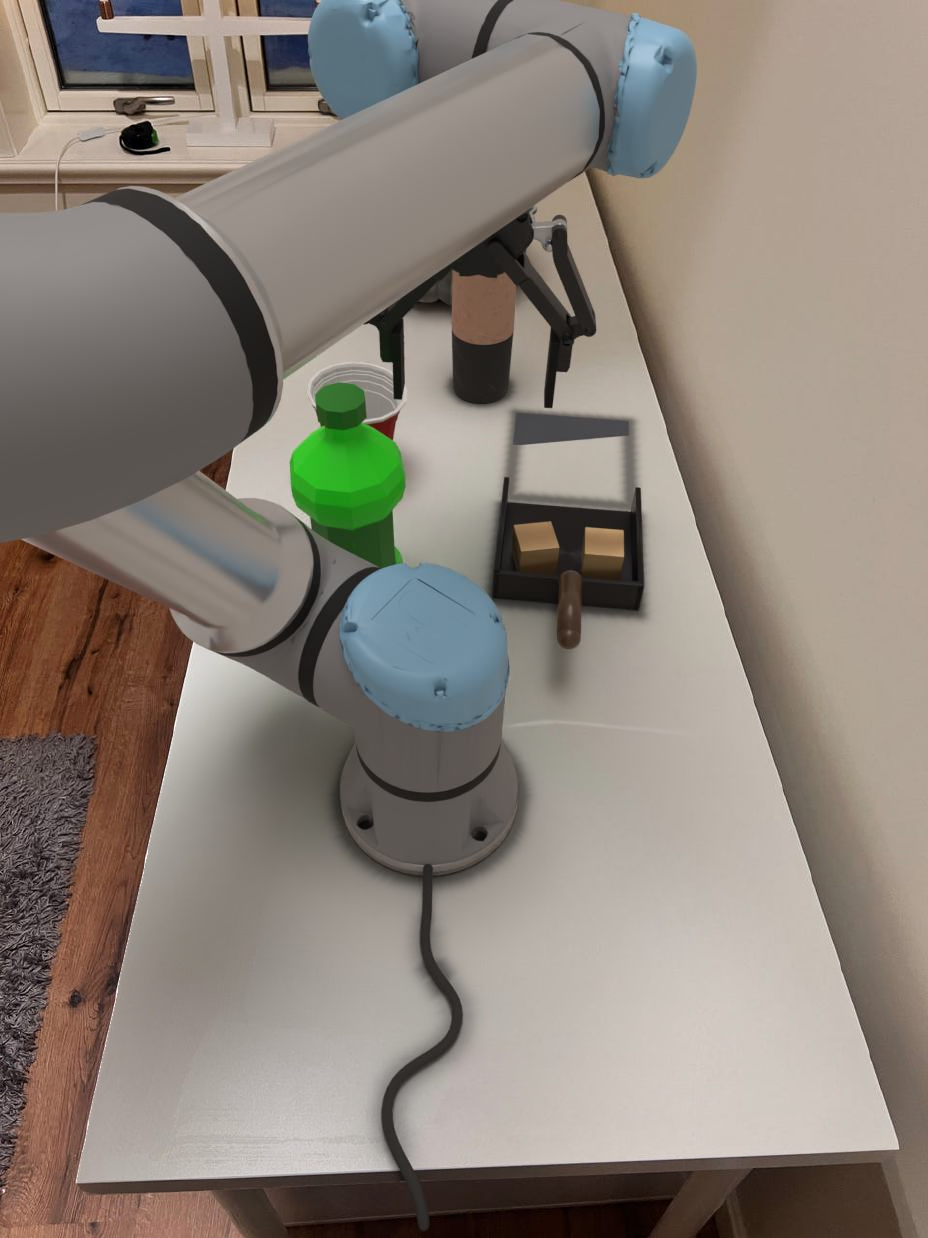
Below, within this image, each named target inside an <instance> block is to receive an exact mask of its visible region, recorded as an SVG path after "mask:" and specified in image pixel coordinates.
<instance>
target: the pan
mask: <svg viewBox="0 0 928 1238" xmlns="http://www.w3.org/2000/svg"><path fill="white" fill-rule="evenodd" d="M509 492H510V477H509V476H504V477H503V485H502V493H501V500H500V501H501V502H500V511H499V519H498V528H497V529H498V530H497V539H496V548H495V556H494V565H493V573H492V574H493V575H492V588H491V589H492V590H491V591H492V592H491V599H495V600H506V601H507V600H509V601H521V602H533V603H542V604H555V605H557V614H556V615H557V616H556V636H555V637H556V638H555V639H556V642H557V644H558V646H559V647H560V648H561V649H564V650H569V651H570V650H574V649H575V648H577V647H578V646H579V645H580V643H581V640H582V639H581V638H582V611H583V610H582V609H583V608H582V607H589V608H590V607H591V608H602V609H613V610H626V611H627V610H628V611H637V612H638V611H640V606H641V602H642V598H643V593H644V589H645V569H644V568H645V565H644V564H645V563H644V538H643V537H644V536H643V515H642V514H643V512H642V511H643V509H642V488H641V487H638V486H636V487H635V488H634V492H633V498H632V503H631V507H630V511H628V510H627V511H626V510H614V509H613V510H612V509H599V508H587V507H576V506H563V505H551V504H538V503H537V504H536V503H524V502H512V501H509ZM550 521H551V523H552V526H553V529H554V532H555V535H556V538H557V541H558V544H559V547H560V548H559V556H558V563H557V571H556V575H555V574H543V573H531V572H519V571H517V570H516V566H515V562H514V559H513V555H512V541H513V528H514V525H519V524H529V523H540V522H550ZM585 527H590V528H602V529H615V530H624V560H623V565H622V570H621V575H620V580H615V579H603V578H591V577H581V552H582V546H583V539H584V532H585Z"/></svg>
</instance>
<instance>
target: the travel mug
mask: <svg viewBox="0 0 928 1238" xmlns="http://www.w3.org/2000/svg"><path fill="white" fill-rule="evenodd" d="M516 297H517V286H516V285H515V284H514V283H513V282H512V280H511V279H510V278H509V277H508V275H507V274H506V273H503V274H501V275H497V278H487V277H484V276H481V275H474V276H469V277H467V276H459V273H457V272H455V271H453V278H452V305H451V355H452V356H451V358H452V361H451V362H452V386H453V387H452V388H453V391H454V393H455V395H457V396H458V397H459V398H460V399H462V400H464V401H466V402H468V403H472V404H491V403H494V402H497V401H499V400H501V399H502V398H504V397H505V395H506V394H507V392H508V389H509V381H510V372H511V364H512V363H511V362H512V352H513V341H514V330H515V315H516Z"/></svg>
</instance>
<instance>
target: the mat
mask: <svg viewBox="0 0 928 1238" xmlns="http://www.w3.org/2000/svg"><path fill="white" fill-rule="evenodd" d="M515 416H516V417H515V424H514V433H513V444H512V445H514V446H527V445H538V444H540V445H541V444H549V443H561V442H572V441H583V440H595V439H605V438H606V439H607V438H616V437H617V438H619V437H628V436H629V435H630V427H629V426H630V425H629V423H630V422H629V420H623V419H622V420H621V419H611V418H596V417H583V416H572V415H571V416H568V415H555V414H542V413H529V412H516V415H515Z"/></svg>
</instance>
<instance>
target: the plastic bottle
mask: <svg viewBox="0 0 928 1238" xmlns="http://www.w3.org/2000/svg"><path fill="white" fill-rule="evenodd" d="M315 400H316V409H317V414H316V417H317V422H318V423H319V424H320V423H321V424H322V425H324V426H322V427H321V426H319V427H318V428H317V429H315V430H314V431H312V432H311V433H310V434H309V435H308V436H307V437H306V438H305V439H304V440H302V441H301V443H300V444H298V445H297V446H296V447H295V448H294V449H293V451H292V453H291V456H290V460H289V475H290V489H291V495H292V499H293V501H294V503H295V506H296V507H297V508H298V509H299V510H300V511H302V512H303V513H304V514H305V515H306V516H308V517H309V519H310V528H311V529H312V530H313V531H314V532H316V533H317V534H318V535H320V536H321V537H323V538H325V539H326V540H328V541H330V542H331V543H333V544H335V545H337V546H338V547H340V548H342V549H344V550H346V551H348V552H350V553H352V554H354V555H356V556H358V557H360V558H362V559H364V560H366V561H368V562H370V563H372V564H374V565H376V566H378V567H380V568H385V567H388V566H392V565H395V564H400V563H404V559H403V555H402V553H401V551H399V548H397V546H396V545H395V532H394V530H395V529H394V509H395V508H396V506H397V505H398V504H399V503H400V502H401V501H402V499H403V498H404V495H405V490H406V475H405V474H406V473H405V472H406V471H405V468H404V461H403V456H402V452H401V450H400V448H399V446H398V444H397V442H395V441H394V439H393V440H391V439H390V438H388V437H387V436H385V435H384V434H382V433H381V432H379V431H378V430H376V429H375V428H373V427H371V426H368V425H366V424H364V423H362V422H363V421H364V420H365V419H366V418H367V415H366V401H365V394H364V390H362V389H361V388H359V387H358V386H356V385H355V384H349V383H340V382H338V383H334V384H330V385H326V386H323V387H322V388H321V389H320V390H319V391H318V392H317V393H316V394H315Z"/></svg>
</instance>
